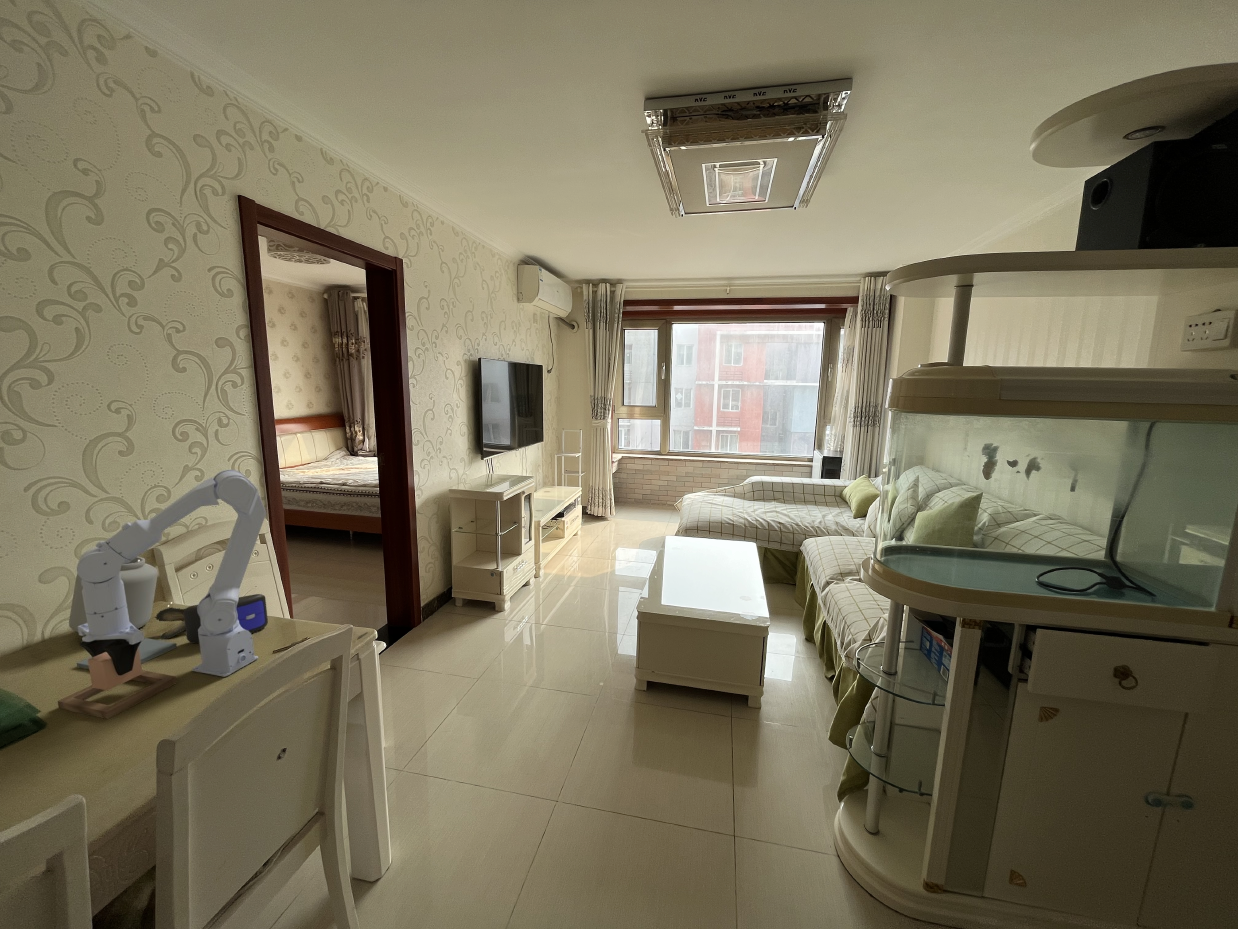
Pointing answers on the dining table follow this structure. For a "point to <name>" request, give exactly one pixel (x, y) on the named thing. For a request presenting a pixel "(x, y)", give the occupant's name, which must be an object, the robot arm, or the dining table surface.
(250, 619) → the dark rounded block
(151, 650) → the mat
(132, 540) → the robot arm
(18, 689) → the dining table surface
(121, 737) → the dining table surface
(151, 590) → the jar
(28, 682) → the dining table surface
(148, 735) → the dining table surface
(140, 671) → the terracotta block
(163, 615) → the eagle figurine
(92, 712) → the brown wooden frame
